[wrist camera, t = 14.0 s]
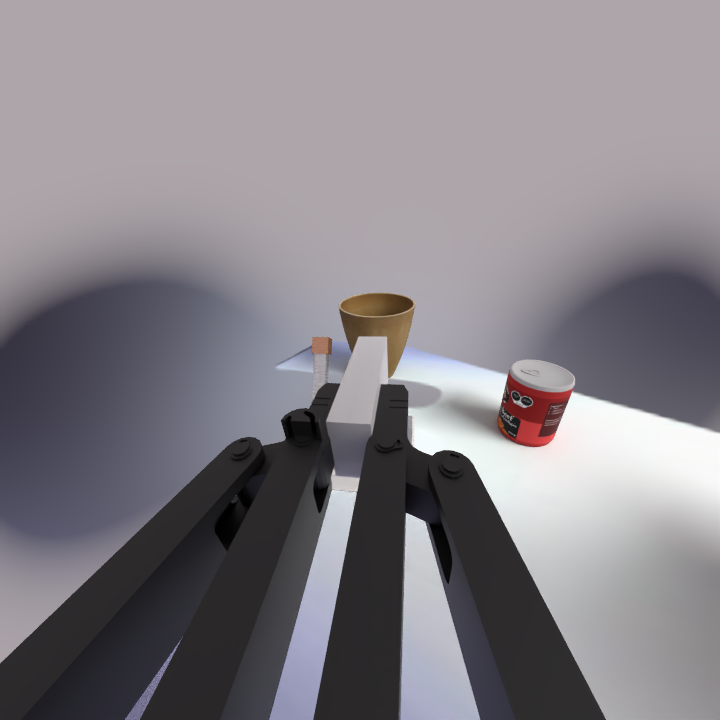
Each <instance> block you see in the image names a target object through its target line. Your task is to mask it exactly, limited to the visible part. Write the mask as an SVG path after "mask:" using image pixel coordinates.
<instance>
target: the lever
mask: <svg viewBox="0 0 720 720" xmlns="http://www.w3.org/2000/svg"><path fill="white" fill-rule="evenodd" d="M331 349H332V339H331V338H329V337H313V343H312V353H313V354H314V375H313V397H312V402H313V400H314V399H315V395H316V393H317V391H318V390H319V389H320V388H321V387H322V386H323V385H324V384H325V383H328V362H329V355H331Z"/></svg>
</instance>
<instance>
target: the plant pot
mask: <svg viewBox="0 0 720 720" xmlns="http://www.w3.org/2000/svg"><path fill="white" fill-rule="evenodd" d="M414 308H415V302H414V301H413V300H412V299H411V298H409V297H406V296H403V295H399V294H392V293H367V294H360V295H355V296H352V297H349V298H346V299H344V300H343V301H341V302H340V304H339V310H340V315H341V319H342V323H343V327H344V331H345V334H346V337H347V341H348V344H349V347H350V349H351V352H352V353H353V350H354V347H355V345H356V342H357V339H358V337H387V357H388V378H390V377H391V376H392V375H393V374H394V372H395V370H396V368H397V365H398V363H399V361H400V358H401V356H402V353H403V350H404V348H405V345H406V342H407V338H408V334H409V331H410V327H411V322H412V317H413V313H414Z"/></svg>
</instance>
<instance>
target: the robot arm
mask: <svg viewBox="0 0 720 720" xmlns="http://www.w3.org/2000/svg"><path fill="white" fill-rule="evenodd" d="M281 422H282V426H283V429H284V433H285V436H286V439H285V441H283V442H279V443H275V444H270V445H264V446H262V445H261V443H260V440H258V439H256V438H252V437H246V438H241V439H239V440H236V441H234V442H233V443H231V444H230V445H229V446H227V447H226V448H225V449H224V450H223V451H222V452H221V453H220V454H219V455H218V456H217V457H216V458H215V459H214V460H213V461H212V462H210V463H209V465H207V466H206V467H205V468H204V469H203V470H202V471H201V472H200V473H199V474H198V475H197V476H196V477H195V478H194V479H193V480H192V481H191V482H190V483H189V484H187V485H186V486H185V487H184V488H183V489H182V490H181V491H180V492H179V493H178V494H177V495H176V496H175V497H174V498H173V499H172V500H171V501H170V502H169V503H168V504H167V505H166V506H164V507H163V508H162V509H161V510H160V511H159V512H158V513H157V514H156V515H155V516H154V517H153V518H152V519H151V520H150V521H149V522H148V523H147V524H146V525H145V526H144V527H143V528H141V529H140V530H139V531H138V532H137V533H136V534H135V535H134V536H133V537H132V538H131V539H130V540H129V541H128V542H127V543H126V544H125V545H124V546H123V547H122V548H121V549H120V550H118V551H117V552H116V553H115V554H114V555H113V556H112V557H111V558H110V559H109V560H108V561H107V562H106V563H105V564H104V565H103V566H102V567H101V568H100V569H99V570H98V571H97V572H96V573H94V574H93V575H92V576H91V577H90V578H89V579H88V580H87V581H86V582H85V583H84V584H83V585H82V586H81V587H80V588H79V589H78V590H77V591H76V592H75V593H74V594H72V595H71V596H70V597H69V598H68V599H67V600H66V601H65V602H64V603H63V604H62V605H61V606H60V607H59V608H58V609H57V610H56V611H55V612H54V613H53V614H52V615H51V616H49V617H48V619H46V620H45V621H44V622H43V623H42V624H41V625H40V626H39V627H38V628H37V629H36V630H35V631H34V632H33V633H32V634H31V635H30V636H29V637H28V638H26V639H25V640H24V641H23V642H22V643H21V644H20V645H19V646H18V647H17V648H16V649H15V650H14V651H13V652H12V653H11V654H10V655H9V656H8V657H7V658H6V659H5V660H4V661H2V662H1V663H0V720H125V718H126V717H127V715H128V714H129V712H130V711H131V710H132V708H133V707H134V705H135V704H136V703H137V701H138V700H139V698H140V697H141V695H142V694H143V693H144V691H145V690H146V688H147V687H148V685H149V684H150V683H151V681H152V680H153V678H154V677H155V675H156V674H157V673H158V671H159V670H160V668H161V667H162V666H163V664H164V663H165V661H166V660H167V658H168V657H169V656H170V654H171V653H172V651H173V650H174V648H175V647H176V646H177V644H178V643H179V641H180V640H181V638H182V637H183V638H182V640H181V642H180V643H179V645H178V647H177V649H176V651H175V653H174V655H173V657H172V659H171V661H170V663H169V665H168V667H167V669H166V670H165V672H164V674H163V676H162V678H161V680H160V682H159V684H158V686H157V688H156V690H155V692H154V694H153V696H152V697H151V699H150V701H149V703H148V705H147V707H146V709H145V711H144V713H143V715H142V717H141V719H140V720H269V718H270V714H271V711H272V707H273V703H274V700H275V696H276V692H277V689H278V685H279V681H280V678H281V674H282V670H283V667H284V663H285V659H286V656H287V652H288V648H289V645H290V641H291V637H292V634H293V630H294V626H295V623H296V619H297V615H298V612H299V608H300V604H301V601H302V597H303V593H304V590H305V586H306V582H307V579H308V575H309V571H310V568H311V564H312V560H313V557H314V553H315V549H316V546H317V542H318V538H319V535H320V531H321V527H322V524H323V520H324V516H325V513H326V509H327V505H328V502H329V498H330V494H331V491H332V480H331V476H332V472H333V469H334V470H335V475H336V476H343V477H354V478H360V480H359V485H358V490H357V495H356V501H355V506H354V511H353V516H352V521H351V527H350V532H349V537H348V542H347V548H346V553H345V558H344V563H343V568H342V574H341V579H340V584H339V589H338V594H337V600H336V605H335V610H334V615H333V621H332V626H331V631H330V636H329V641H328V647H327V652H326V657H325V662H324V667H323V673H322V678H321V683H320V688H319V693H318V699H317V704H316V709H315V714H314V720H400V710H401V673H402V635H403V598H404V561H405V524H406V513H408V514H411V515H413V516H415V517H417V518H419V519H421V520H424V521H426V525H427V529H428V533H429V536H430V540H431V543H432V547H433V551H434V554H435V558H436V561H437V565H438V569H439V572H440V576H441V579H442V583H443V587H444V590H445V594H446V597H447V601H448V604H449V608H450V612H451V615H452V619H453V622H454V626H455V630H456V633H457V637H458V640H459V644H460V648H461V651H462V655H463V658H464V662H465V665H466V669H467V673H468V676H469V680H470V683H471V687H472V691H473V694H474V698H475V701H476V705H477V709H478V712H479V716H480V719H481V720H606V719H605V717H604V715H603V713H602V711H601V709H600V707H599V705H598V703H597V701H596V700H595V698H594V696H593V694H592V692H591V690H590V688H589V686H588V684H587V682H586V680H585V678H584V676H583V675H582V673H581V671H580V669H579V667H578V665H577V663H576V661H575V659H574V657H573V655H572V653H571V651H570V650H569V648H568V646H567V644H566V642H565V640H564V638H563V636H562V634H561V632H560V630H559V628H558V626H557V625H556V623H555V621H554V619H553V617H552V615H551V613H550V611H549V609H548V607H547V605H546V603H545V602H544V600H543V598H542V596H541V594H540V592H539V590H538V588H537V586H536V584H535V582H534V580H533V578H532V577H531V575H530V573H529V571H528V569H527V567H526V565H525V563H524V561H523V559H522V557H521V555H520V553H519V552H518V550H517V548H516V546H515V544H514V542H513V540H512V538H511V536H510V534H509V532H508V530H507V528H506V527H505V525H504V523H503V521H502V519H501V517H500V515H499V513H498V511H497V509H496V507H495V505H494V503H493V502H492V500H491V498H490V496H489V494H488V492H487V490H486V488H485V486H484V484H483V482H482V480H481V478H480V477H479V475H478V473H477V471H476V469H475V467H474V465H473V464H472V462H471V461H470V460H469V459H468V458H467V457H466V456H464V455H463V454H461V453H458V452H455V451H450V450H443V451H440V452H436V453H435V454H434V455H433V456H431V455H429V454H426V453H423V452H421V451H419V450H417V449H416V448H414V447H413V446H412V445H411V443H410V442H409V440H408V391H407V389H406V388H405V386H404V385H391V384H388V357H387V337H358V339H357V342H356V345H355V347H354V350H353V353H352V355H351V358H350V360H349V363H348V366H347V368H346V371H345V373H344V376H343V379H342V381H341V384H336V383H335V384H334V383H325V384H324V385H323V386H322V387H321V388H320V389H319V390H318V391H317V393H316V395H315V399H314V400H313V402H312V405H311V406H310V408H309V409H307V408H304V409H297V410H294V411H291V412H290V413H288V414H287V415H285V416H284V417H283V419H282V420H281ZM236 495H237V496H236ZM235 496H236V497H235Z"/></svg>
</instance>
